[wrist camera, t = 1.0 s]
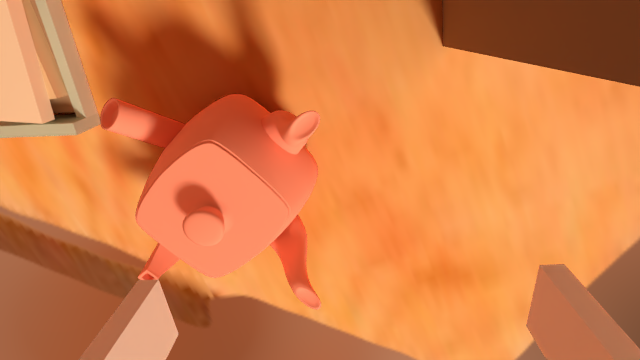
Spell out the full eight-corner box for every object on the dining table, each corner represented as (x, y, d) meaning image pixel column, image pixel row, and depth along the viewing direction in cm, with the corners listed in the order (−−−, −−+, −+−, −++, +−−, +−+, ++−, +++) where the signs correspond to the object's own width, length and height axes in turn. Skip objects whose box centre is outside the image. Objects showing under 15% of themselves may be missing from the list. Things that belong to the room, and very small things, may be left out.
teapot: (326, 79, 36) (319, 114, 23) (325, 232, 43) (320, 320, 31) (151, 78, 36) (52, 112, 24) (181, 228, 44) (119, 312, 32)
